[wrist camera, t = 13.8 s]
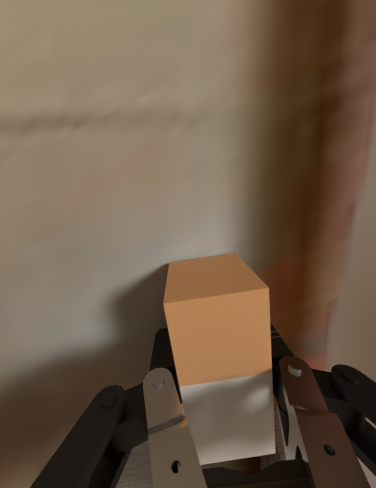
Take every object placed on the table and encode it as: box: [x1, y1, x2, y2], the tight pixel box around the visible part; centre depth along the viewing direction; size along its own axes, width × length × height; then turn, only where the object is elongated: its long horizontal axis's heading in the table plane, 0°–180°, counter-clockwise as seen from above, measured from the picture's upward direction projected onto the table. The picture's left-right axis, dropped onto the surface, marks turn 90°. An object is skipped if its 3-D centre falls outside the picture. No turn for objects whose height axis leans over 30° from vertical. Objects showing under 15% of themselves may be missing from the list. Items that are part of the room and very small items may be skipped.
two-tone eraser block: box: [163, 253, 275, 465], centre depth 11 cm, size 9×4×4 cm, turn 8°
